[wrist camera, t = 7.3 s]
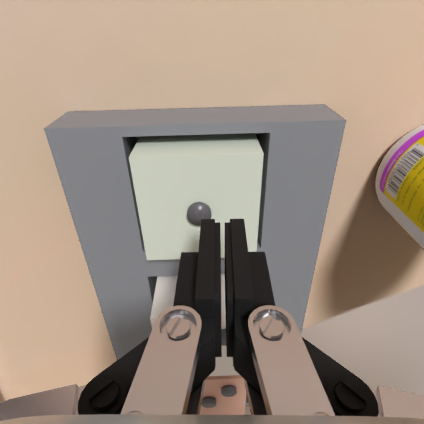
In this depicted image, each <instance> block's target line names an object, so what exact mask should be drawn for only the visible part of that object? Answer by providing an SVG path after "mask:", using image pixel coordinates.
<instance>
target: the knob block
mask: <svg viewBox="0 0 424 424" xmlns="http://www.w3.org/2000/svg"><path fill="white" fill-rule="evenodd" d="M263 156H264V153H263V151H262V149H261V146H260V144H259V142H258V140H257V137H256V135H255V133H241V134H207V135H172V136H140V137H139V139H138V141H137V143H136V145H135V146H134V148H133V150H132V152H131V154H130V156H129V162H130V168H131V173H132V179H133V185H134V190H135V196H136V202H137V207H138V213H139V219H140V224H141V230H142V235H143V241H144V247H145V252H146V258H147V260H171V259H180V257H181V253H182V252H199V239H200V226H201V219H215V223H217V222H220V240H221V258H225V222H230V219H244V223H245V231H246V238H247V246H248V252H257V239H258V225H259V211H260V197H261V184H262V170H263Z"/></svg>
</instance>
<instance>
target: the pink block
mask: <svg viewBox="0 0 424 424" xmlns="http://www.w3.org/2000/svg"><path fill="white" fill-rule="evenodd" d="M245 404H246V389H245V384H244V378H243V377H242V376H240V375H232V376H208V377H207V378H206V379H205V387H204V393H203V398H202V404H201V409H200V415H245Z"/></svg>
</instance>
